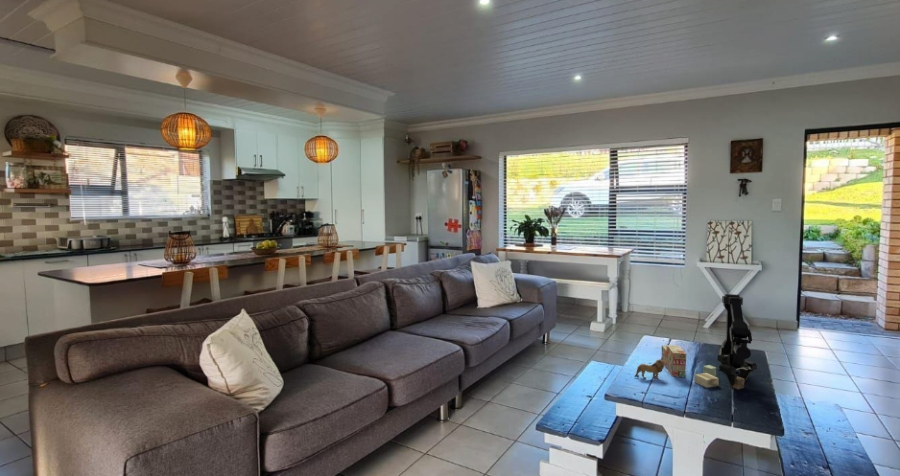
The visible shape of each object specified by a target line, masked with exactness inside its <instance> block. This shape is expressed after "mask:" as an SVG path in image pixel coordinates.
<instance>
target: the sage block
mask: <svg viewBox="0 0 900 476" xmlns="http://www.w3.org/2000/svg"><path fill="white" fill-rule="evenodd" d="M702 367H703V368H702V373H708V374H710V375H712V376H715V377H717V367H716V366H713V365H711V364H708V365H703V366H702Z"/></svg>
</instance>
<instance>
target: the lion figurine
mask: <svg viewBox="0 0 900 476" xmlns="http://www.w3.org/2000/svg"><path fill="white" fill-rule="evenodd" d="M664 365H665V364H664V361H663V360H661V359H657V360H656V361H655V362H654V363H652V364H645V363H641V364H640V365H638V366H637V368H636V372H635V375H634V378H637V377H640V375H639V374H640V373H641V377H642V378H643V379H644V380H647V377H645V373H650V374H652V378H655V379H656V380H660V379H659V377H658V376H659V373H661V372H663V370H664V367H665V366H664Z"/></svg>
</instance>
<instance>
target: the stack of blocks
mask: <svg viewBox="0 0 900 476" xmlns="http://www.w3.org/2000/svg"><path fill="white" fill-rule="evenodd" d="M660 360H663V361H664V364H665V365H664V367H665V369H666V370H667V371H668V373H669V374H670V375H671V377H678V378H679V377H680V378H686V369H687V368H686V367H687V353H686V352H685V350H684V349H683V348H682V347H681V346H680V345H671V344H667V345H661V359H660Z"/></svg>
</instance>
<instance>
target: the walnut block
mask: <svg viewBox="0 0 900 476" xmlns="http://www.w3.org/2000/svg"><path fill="white" fill-rule="evenodd" d="M729 386H730V387H731V388H733V389H736V390H742V389H744V388H745V382H744V378H741V377H740V376H738V375H737V378H736V381H735V384H734V386H731V385H730V384H729Z"/></svg>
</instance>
